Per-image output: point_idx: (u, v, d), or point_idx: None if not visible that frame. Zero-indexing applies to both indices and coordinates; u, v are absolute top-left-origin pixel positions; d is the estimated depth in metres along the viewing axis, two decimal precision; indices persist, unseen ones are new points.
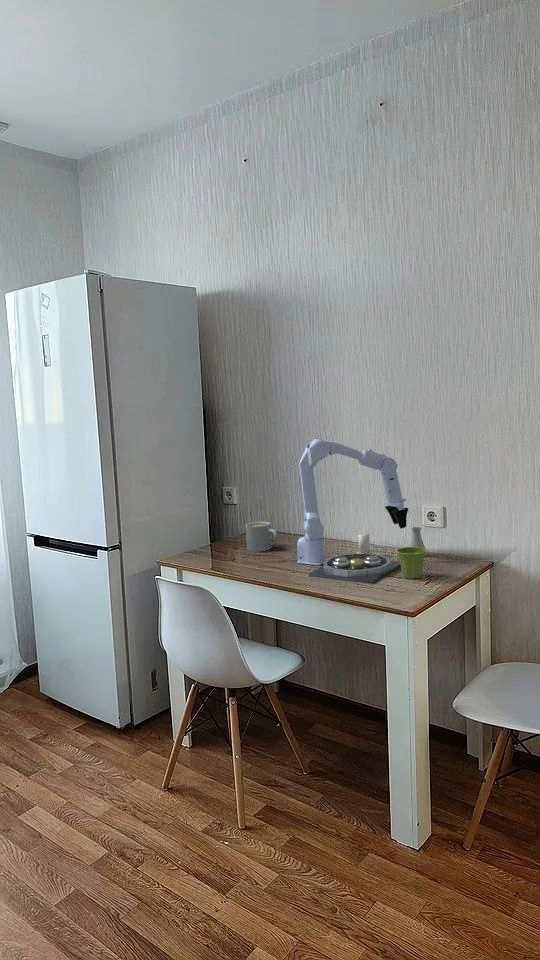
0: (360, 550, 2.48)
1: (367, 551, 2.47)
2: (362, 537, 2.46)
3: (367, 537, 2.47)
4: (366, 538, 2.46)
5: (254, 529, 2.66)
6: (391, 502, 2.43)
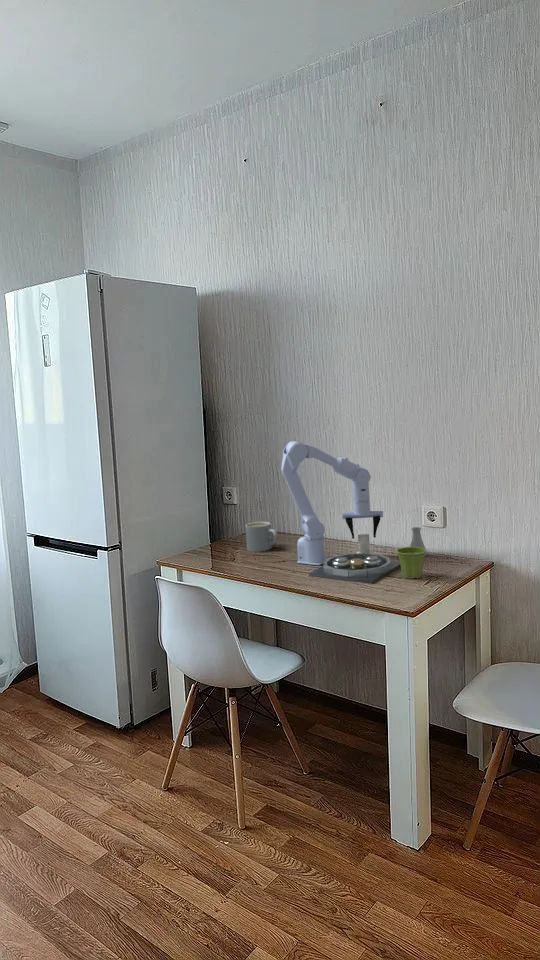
0: (360, 550, 2.48)
1: (367, 551, 2.47)
2: (362, 537, 2.46)
3: (367, 537, 2.47)
4: (366, 538, 2.46)
5: (254, 529, 2.66)
6: (368, 512, 2.45)
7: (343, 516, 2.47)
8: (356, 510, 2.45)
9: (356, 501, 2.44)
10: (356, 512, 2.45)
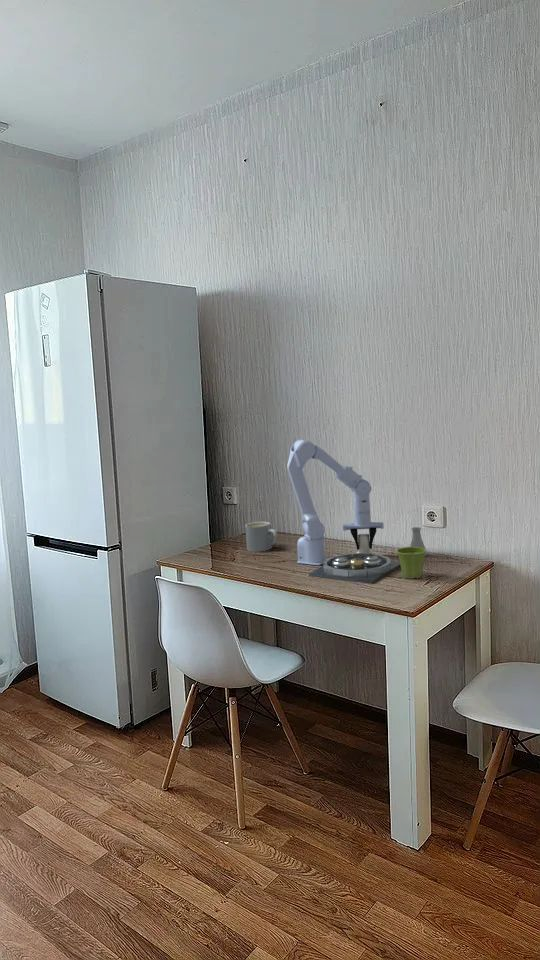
0: (360, 550, 2.48)
1: (367, 551, 2.47)
2: (362, 537, 2.46)
3: (367, 537, 2.46)
4: (366, 538, 2.46)
5: (254, 529, 2.66)
6: (369, 523, 2.45)
7: (343, 527, 2.47)
8: (357, 521, 2.46)
9: (357, 512, 2.45)
10: (357, 523, 2.46)
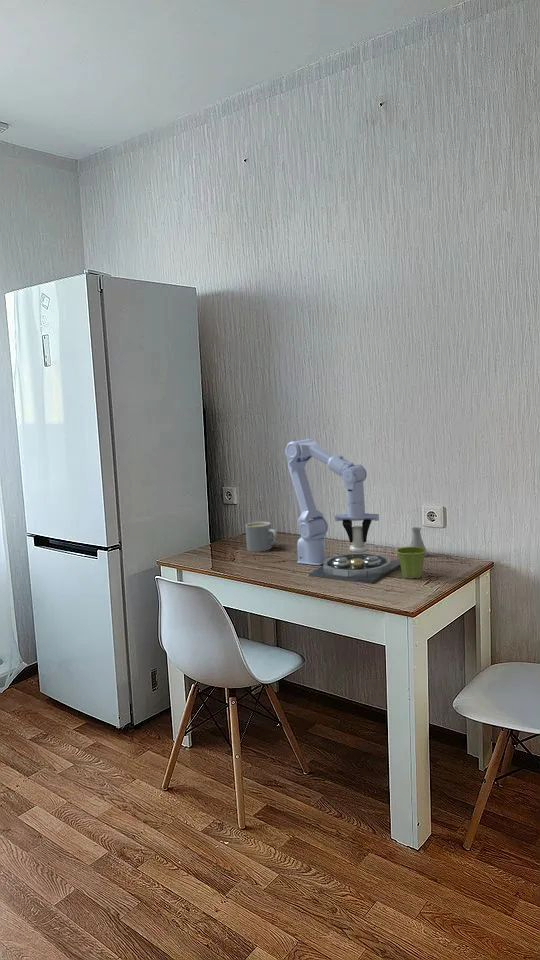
0: (353, 543, 2.30)
1: (360, 545, 2.29)
2: (355, 529, 2.28)
3: (360, 530, 2.28)
4: (359, 531, 2.28)
5: (254, 529, 2.66)
6: (362, 514, 2.26)
7: (335, 517, 2.30)
8: (349, 512, 2.27)
9: (348, 502, 2.27)
10: (349, 514, 2.27)
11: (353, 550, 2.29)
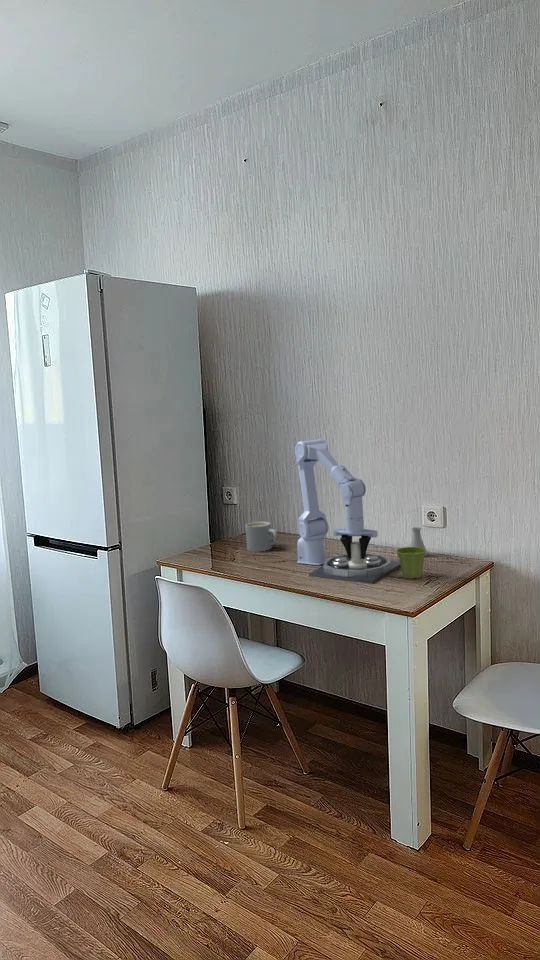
0: (351, 559, 2.25)
1: (358, 561, 2.24)
2: (352, 545, 2.23)
3: (358, 546, 2.23)
4: (357, 547, 2.23)
5: (254, 529, 2.66)
6: (359, 530, 2.21)
7: (334, 532, 2.26)
8: (346, 527, 2.23)
9: (346, 517, 2.22)
10: (346, 529, 2.23)
11: (351, 566, 2.24)
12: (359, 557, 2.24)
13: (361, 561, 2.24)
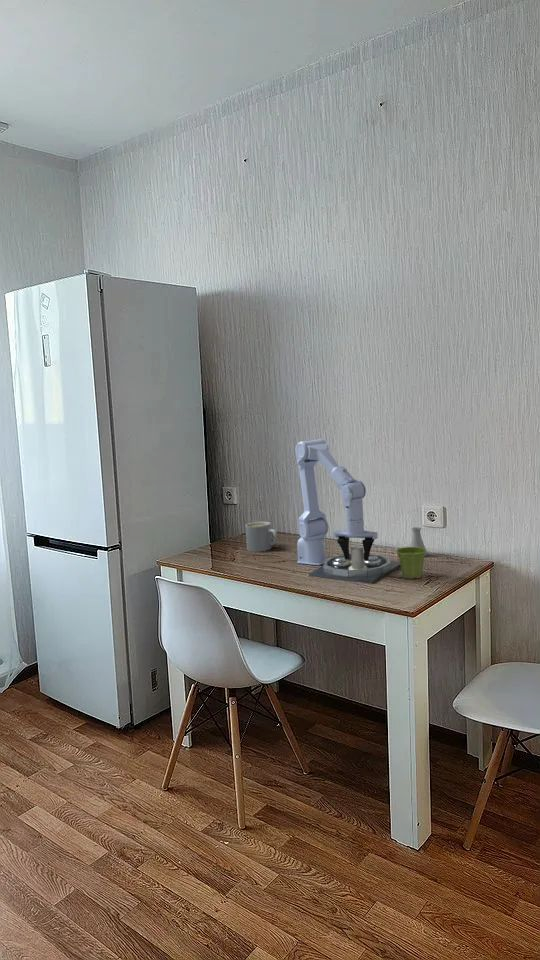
0: (352, 564, 2.25)
1: (358, 566, 2.24)
2: (353, 550, 2.24)
3: (358, 551, 2.23)
4: (357, 552, 2.23)
5: (254, 529, 2.66)
6: (359, 532, 2.21)
7: (334, 533, 2.26)
8: (346, 529, 2.23)
9: (346, 519, 2.22)
10: (347, 531, 2.23)
11: None
12: (359, 562, 2.24)
13: (361, 566, 2.24)
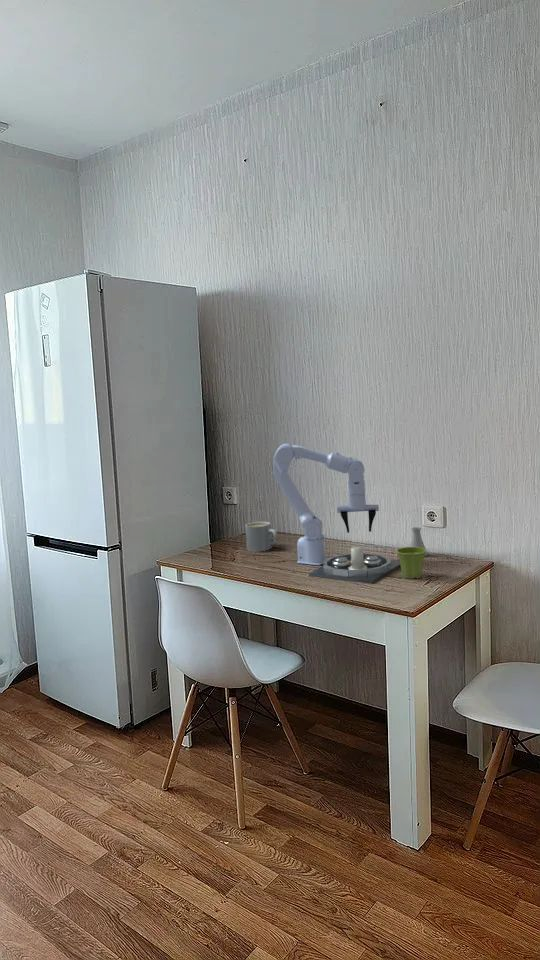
0: (352, 564, 2.25)
1: (358, 566, 2.24)
2: (353, 550, 2.24)
3: (359, 551, 2.23)
4: (357, 552, 2.23)
5: (254, 529, 2.66)
6: (364, 505, 2.40)
7: (338, 509, 2.42)
8: (351, 503, 2.40)
9: (351, 494, 2.39)
10: (351, 505, 2.40)
11: None
12: (359, 562, 2.24)
13: (361, 566, 2.24)
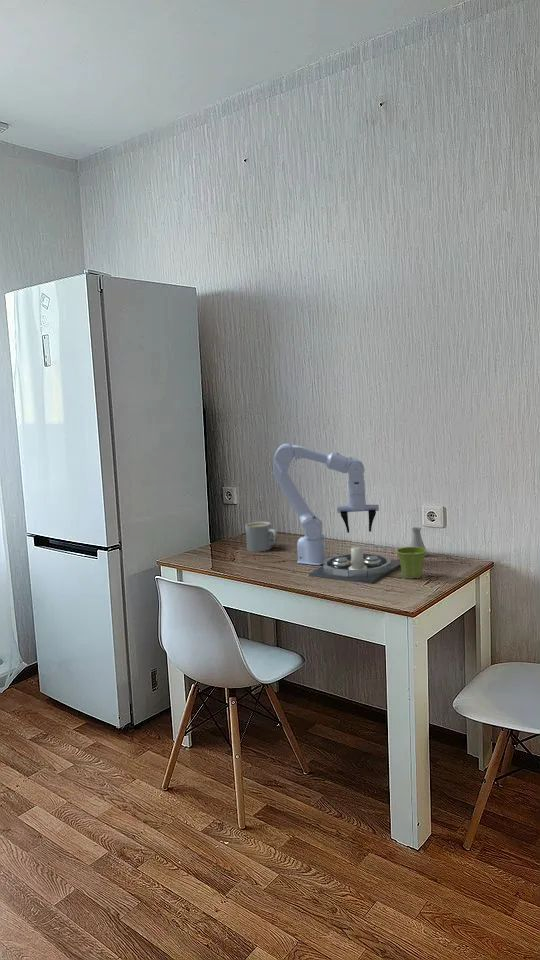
0: (352, 564, 2.25)
1: (358, 566, 2.24)
2: (353, 550, 2.24)
3: (358, 551, 2.23)
4: (357, 552, 2.23)
5: (254, 529, 2.66)
6: (364, 505, 2.40)
7: (338, 509, 2.42)
8: (351, 503, 2.40)
9: (351, 494, 2.39)
10: (351, 505, 2.40)
11: None
12: (359, 562, 2.24)
13: (361, 566, 2.24)
